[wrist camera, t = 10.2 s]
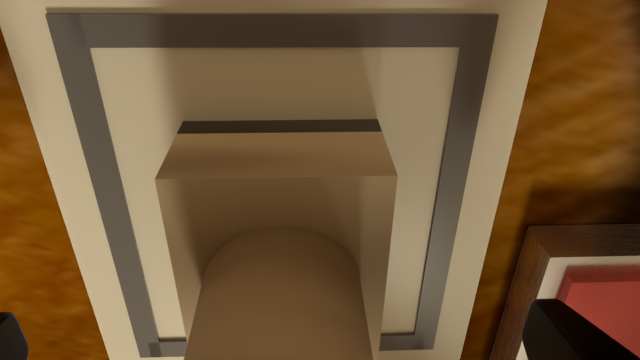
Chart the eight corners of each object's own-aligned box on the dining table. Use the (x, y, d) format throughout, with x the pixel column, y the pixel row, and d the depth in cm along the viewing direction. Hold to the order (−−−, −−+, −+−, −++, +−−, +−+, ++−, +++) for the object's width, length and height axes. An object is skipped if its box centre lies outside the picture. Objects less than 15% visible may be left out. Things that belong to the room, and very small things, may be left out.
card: (456, 360, 14) (459, 369, 14) (117, 370, 14) (114, 379, 14) (552, -41, 9) (560, -38, 8) (-16, -44, 8) (-26, -42, 8)
